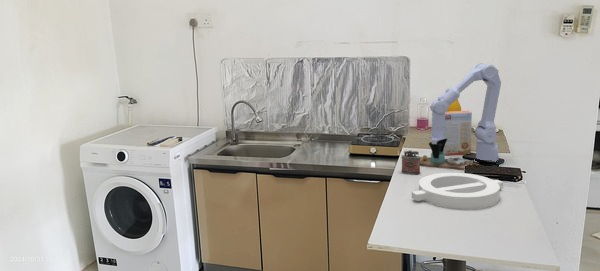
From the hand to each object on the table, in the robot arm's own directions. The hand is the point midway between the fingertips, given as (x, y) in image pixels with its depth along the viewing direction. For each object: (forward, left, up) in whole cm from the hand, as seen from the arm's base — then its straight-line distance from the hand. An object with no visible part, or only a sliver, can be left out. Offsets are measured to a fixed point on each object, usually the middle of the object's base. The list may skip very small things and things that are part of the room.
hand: (438, 156), depth 210 cm
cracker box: (-3, -20, -4) cm, 21 cm away
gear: (0, 0, -3) cm, 3 cm away
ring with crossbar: (-17, +38, -4) cm, 42 cm away
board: (-2, 0, -4) cm, 4 cm away
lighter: (+7, +18, -4) cm, 20 cm away
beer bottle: (+4, -44, -4) cm, 44 cm away
